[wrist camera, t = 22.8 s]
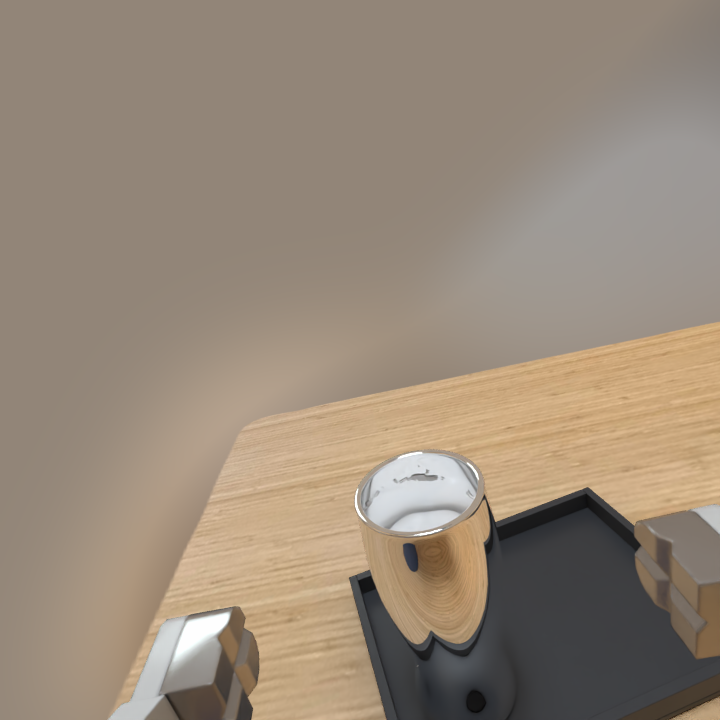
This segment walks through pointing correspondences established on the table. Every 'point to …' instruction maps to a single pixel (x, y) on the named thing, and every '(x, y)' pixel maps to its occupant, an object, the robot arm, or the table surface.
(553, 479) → the table surface
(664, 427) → the table surface
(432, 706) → the silver goblet
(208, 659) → the robot arm
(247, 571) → the table surface
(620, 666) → the tray
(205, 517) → the table surface
